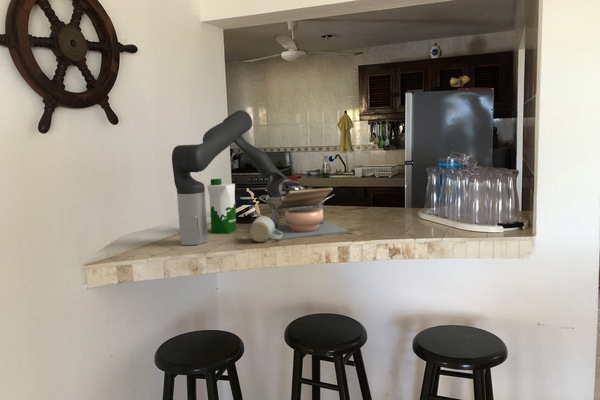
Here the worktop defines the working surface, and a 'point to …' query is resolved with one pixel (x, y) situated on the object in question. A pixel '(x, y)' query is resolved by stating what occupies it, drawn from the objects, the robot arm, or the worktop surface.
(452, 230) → the worktop surface
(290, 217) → the terracotta bowl
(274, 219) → the hinge posts
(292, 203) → the cover sheet
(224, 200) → the milk carton
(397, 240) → the worktop surface
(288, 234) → the slate mat
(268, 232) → the ceramic mug
